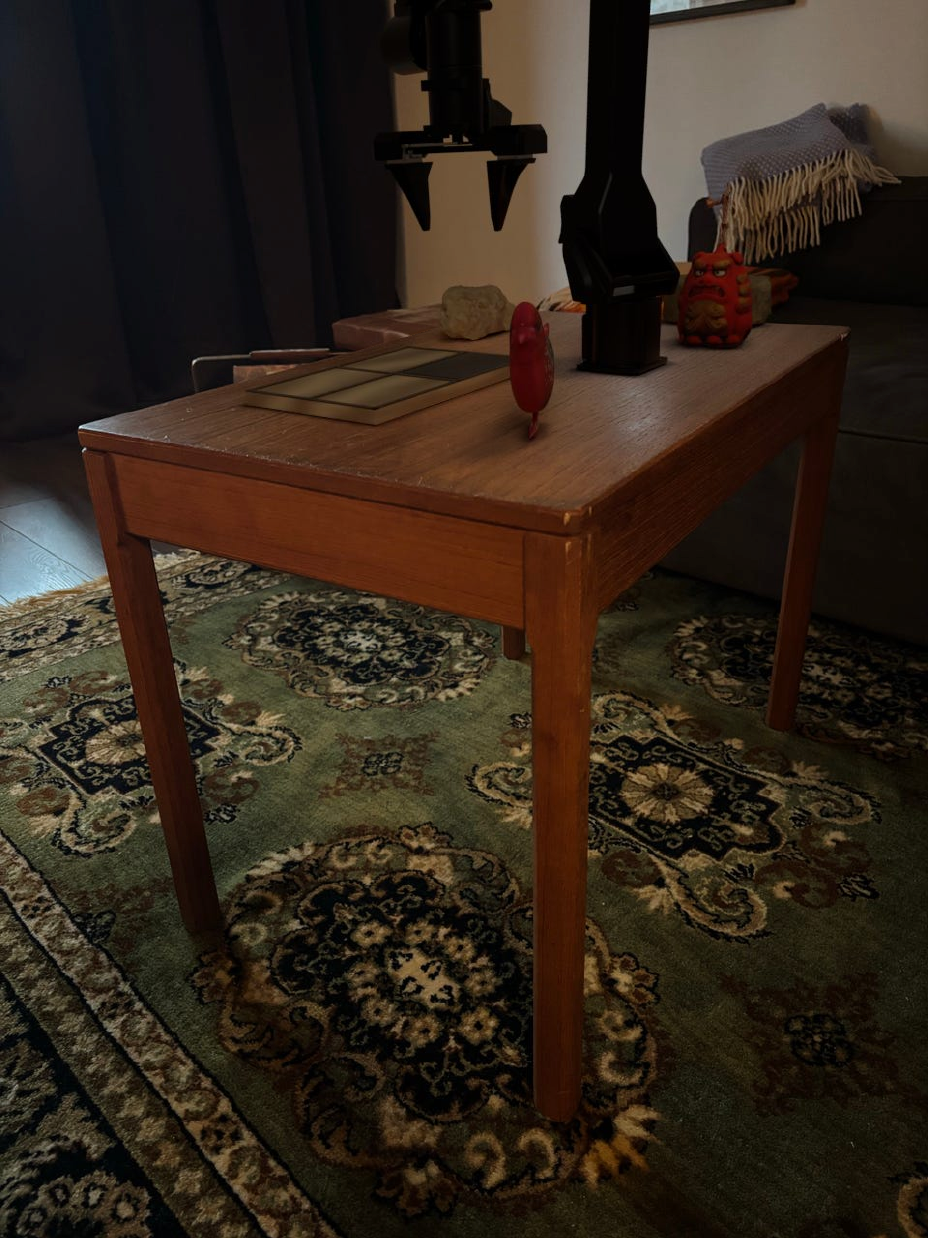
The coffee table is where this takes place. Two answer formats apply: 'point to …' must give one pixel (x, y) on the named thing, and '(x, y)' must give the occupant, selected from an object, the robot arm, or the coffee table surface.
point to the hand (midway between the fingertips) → (461, 230)
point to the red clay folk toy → (716, 295)
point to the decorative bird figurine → (530, 362)
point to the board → (384, 384)
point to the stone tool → (474, 311)
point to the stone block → (759, 305)
